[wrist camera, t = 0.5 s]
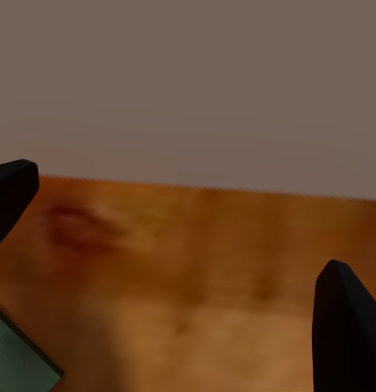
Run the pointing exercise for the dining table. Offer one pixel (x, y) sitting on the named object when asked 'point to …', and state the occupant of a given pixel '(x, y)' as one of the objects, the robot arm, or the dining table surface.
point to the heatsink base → (23, 362)
